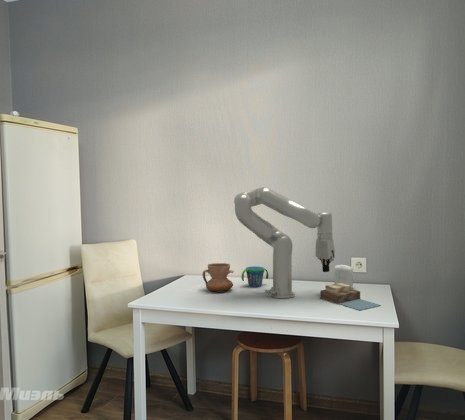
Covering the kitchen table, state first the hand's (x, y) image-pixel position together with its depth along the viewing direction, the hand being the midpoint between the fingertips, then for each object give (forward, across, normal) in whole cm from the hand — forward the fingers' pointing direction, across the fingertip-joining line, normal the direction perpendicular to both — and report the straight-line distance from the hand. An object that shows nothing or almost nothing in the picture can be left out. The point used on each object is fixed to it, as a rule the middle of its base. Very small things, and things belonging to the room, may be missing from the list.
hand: (326, 271), depth 222 cm
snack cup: (+11, -36, -20) cm, 42 cm away
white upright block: (+12, -6, +18) cm, 22 cm away
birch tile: (+7, +9, -1) cm, 11 cm away
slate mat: (+12, +23, -1) cm, 26 cm away
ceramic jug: (+10, -38, -42) cm, 58 cm away
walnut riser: (+12, +10, -1) cm, 16 cm away
